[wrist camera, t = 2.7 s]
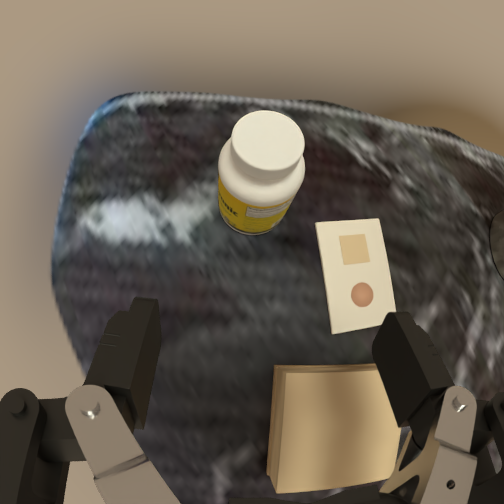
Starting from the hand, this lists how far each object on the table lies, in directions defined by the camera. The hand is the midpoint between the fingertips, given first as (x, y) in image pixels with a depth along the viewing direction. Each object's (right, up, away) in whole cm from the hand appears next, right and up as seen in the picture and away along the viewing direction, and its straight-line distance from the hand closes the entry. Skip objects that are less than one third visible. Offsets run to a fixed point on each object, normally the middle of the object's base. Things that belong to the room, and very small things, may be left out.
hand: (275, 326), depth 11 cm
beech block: (+5, -11, +12) cm, 17 cm away
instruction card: (+8, +1, +15) cm, 17 cm away
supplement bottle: (-1, +6, +15) cm, 17 cm away
